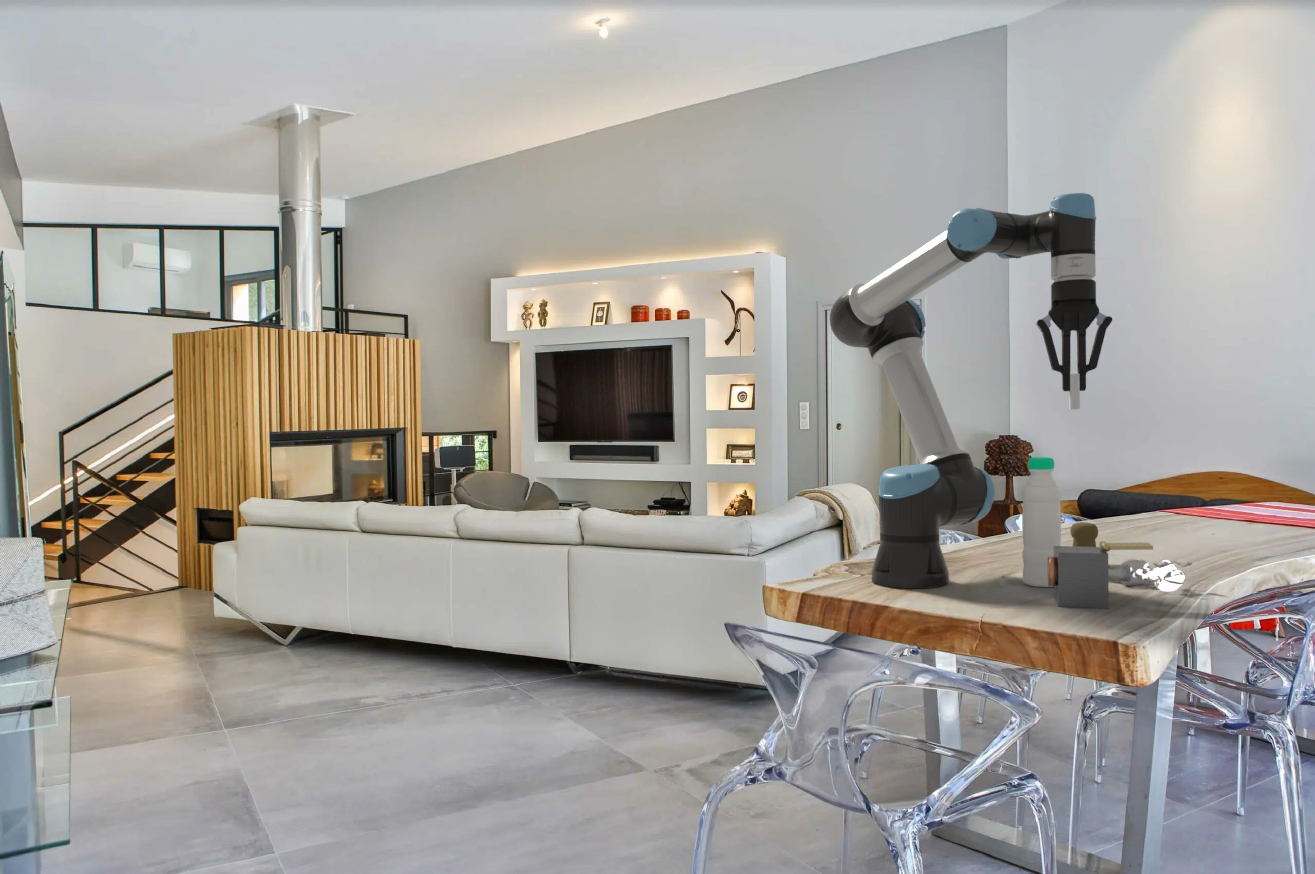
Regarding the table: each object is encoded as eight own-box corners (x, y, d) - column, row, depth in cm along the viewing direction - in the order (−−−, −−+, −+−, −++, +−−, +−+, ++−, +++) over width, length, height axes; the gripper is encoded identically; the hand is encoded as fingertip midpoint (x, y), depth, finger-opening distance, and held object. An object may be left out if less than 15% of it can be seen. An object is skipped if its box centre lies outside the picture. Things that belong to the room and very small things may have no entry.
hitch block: (1058, 606, 167) (1058, 552, 167) (1054, 597, 175) (1053, 545, 175) (1108, 608, 165) (1108, 553, 165) (1101, 599, 172) (1101, 546, 172)
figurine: (1144, 559, 189) (1197, 556, 178) (1147, 591, 188) (1201, 590, 177) (1108, 559, 186) (1160, 557, 175) (1111, 592, 185) (1164, 592, 174)
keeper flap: (1103, 551, 166) (1102, 544, 166) (1099, 547, 171) (1099, 541, 171) (1153, 551, 164) (1152, 544, 164) (1148, 547, 168) (1148, 540, 168)
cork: (1104, 579, 192) (1103, 524, 191) (1072, 578, 193) (1071, 524, 193) (1096, 573, 198) (1096, 521, 197) (1065, 573, 199) (1065, 520, 199)
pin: (1049, 588, 169) (1049, 559, 169) (1047, 583, 174) (1046, 554, 174) (1132, 591, 165) (1131, 561, 165) (1126, 585, 170) (1126, 556, 170)
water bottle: (1044, 589, 183) (1043, 458, 182) (1014, 583, 189) (1013, 457, 188) (1069, 585, 186) (1068, 457, 185) (1039, 580, 192) (1038, 456, 192)
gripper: (1036, 280, 173) (1037, 410, 174) (1115, 275, 169) (1116, 408, 170) (1033, 284, 180) (1034, 409, 181) (1109, 280, 176) (1110, 408, 177)
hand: (1074, 409), depth 175 cm, fingers closed
